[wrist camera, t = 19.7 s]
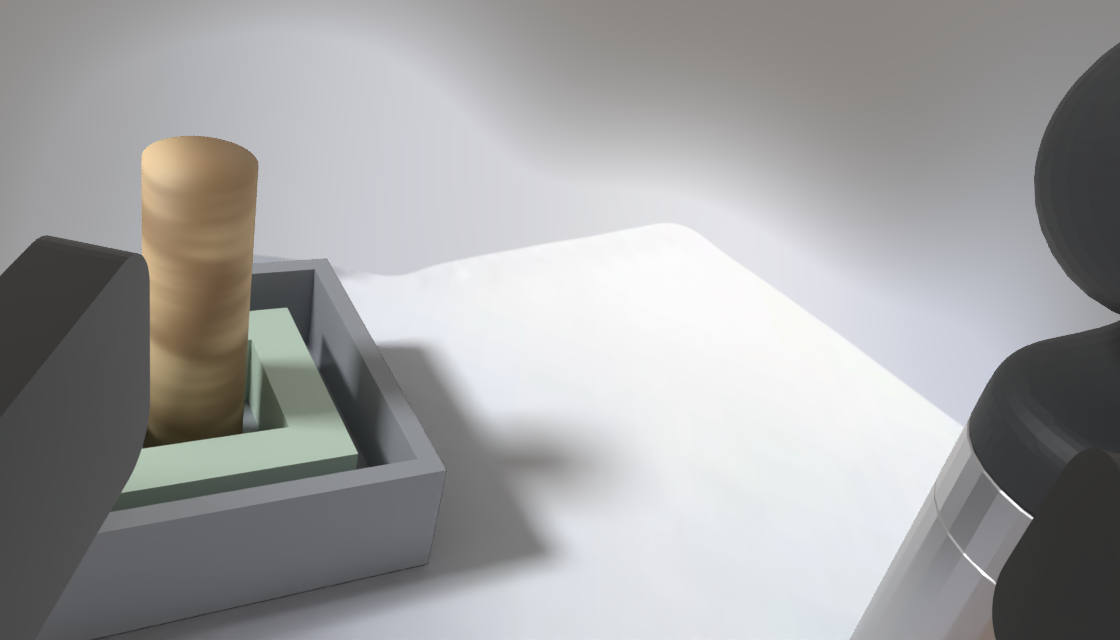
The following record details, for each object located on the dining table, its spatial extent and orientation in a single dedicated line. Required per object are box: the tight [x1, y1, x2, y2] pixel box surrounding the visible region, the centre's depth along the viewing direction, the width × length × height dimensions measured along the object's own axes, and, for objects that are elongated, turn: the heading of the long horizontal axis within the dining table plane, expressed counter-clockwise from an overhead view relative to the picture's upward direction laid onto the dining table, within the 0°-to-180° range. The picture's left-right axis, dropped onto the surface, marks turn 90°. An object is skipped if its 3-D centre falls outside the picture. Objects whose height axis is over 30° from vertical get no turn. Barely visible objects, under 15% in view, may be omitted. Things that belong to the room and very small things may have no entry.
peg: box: [142, 136, 258, 449], centre depth 47 cm, size 4×4×16 cm
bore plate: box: [110, 308, 358, 512], centre depth 50 cm, size 12×12×4 cm
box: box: [35, 259, 447, 640], centre depth 50 cm, size 18×18×6 cm
